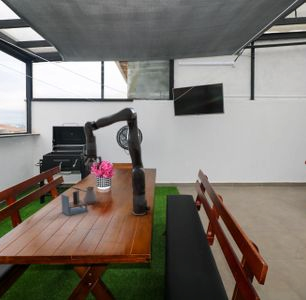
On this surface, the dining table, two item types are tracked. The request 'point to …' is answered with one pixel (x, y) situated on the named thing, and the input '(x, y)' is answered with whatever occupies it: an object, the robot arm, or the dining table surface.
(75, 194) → the remote
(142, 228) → the dining table surface
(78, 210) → the grey u-shaped bracket
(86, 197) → the coffee pot
